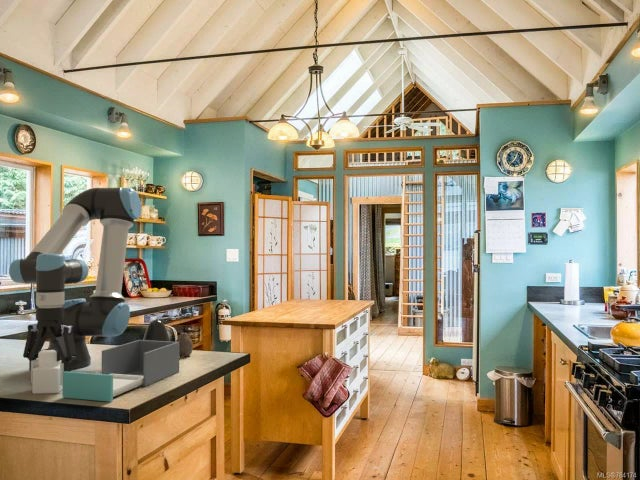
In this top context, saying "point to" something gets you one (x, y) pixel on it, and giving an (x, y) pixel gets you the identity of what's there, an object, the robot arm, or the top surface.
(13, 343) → the top surface
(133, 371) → the bay
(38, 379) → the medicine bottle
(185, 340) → the vase
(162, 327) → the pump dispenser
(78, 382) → the tray
